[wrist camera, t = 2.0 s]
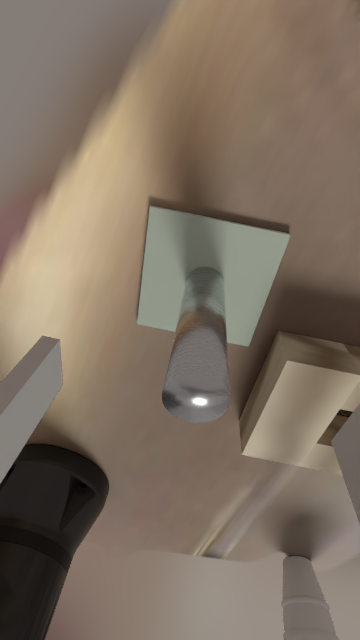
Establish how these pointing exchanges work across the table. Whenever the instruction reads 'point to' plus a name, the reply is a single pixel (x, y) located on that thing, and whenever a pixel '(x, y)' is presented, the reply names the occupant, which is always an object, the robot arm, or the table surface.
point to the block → (301, 401)
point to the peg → (199, 352)
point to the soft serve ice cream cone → (304, 603)
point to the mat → (208, 251)
